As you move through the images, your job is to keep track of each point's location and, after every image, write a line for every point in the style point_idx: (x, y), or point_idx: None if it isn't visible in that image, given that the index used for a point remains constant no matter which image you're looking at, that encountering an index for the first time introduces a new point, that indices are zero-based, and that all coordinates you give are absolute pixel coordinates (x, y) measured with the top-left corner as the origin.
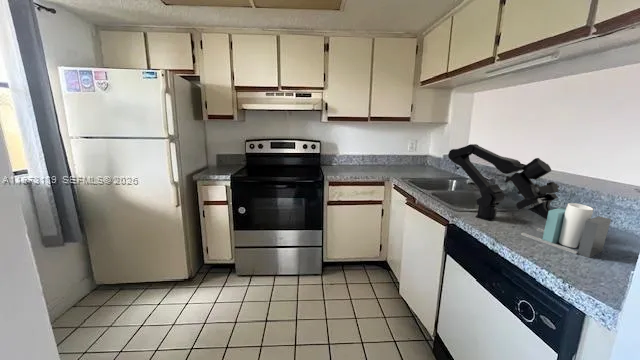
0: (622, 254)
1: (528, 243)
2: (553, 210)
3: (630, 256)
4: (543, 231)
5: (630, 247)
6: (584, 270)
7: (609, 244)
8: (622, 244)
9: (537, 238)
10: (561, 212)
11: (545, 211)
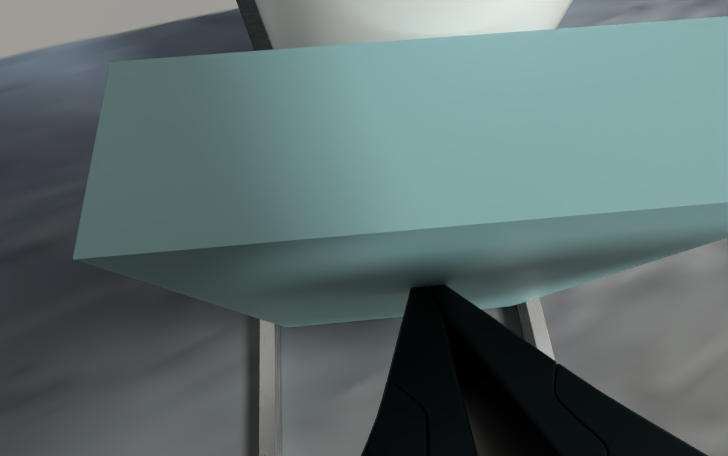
0: (213, 38)
1: (666, 318)
2: (717, 154)
3: (206, 17)
4: (279, 438)
5: (30, 63)
6: (638, 18)
7: (85, 119)
8: (7, 95)
9: (544, 330)
10: (647, 22)
11: (592, 398)
